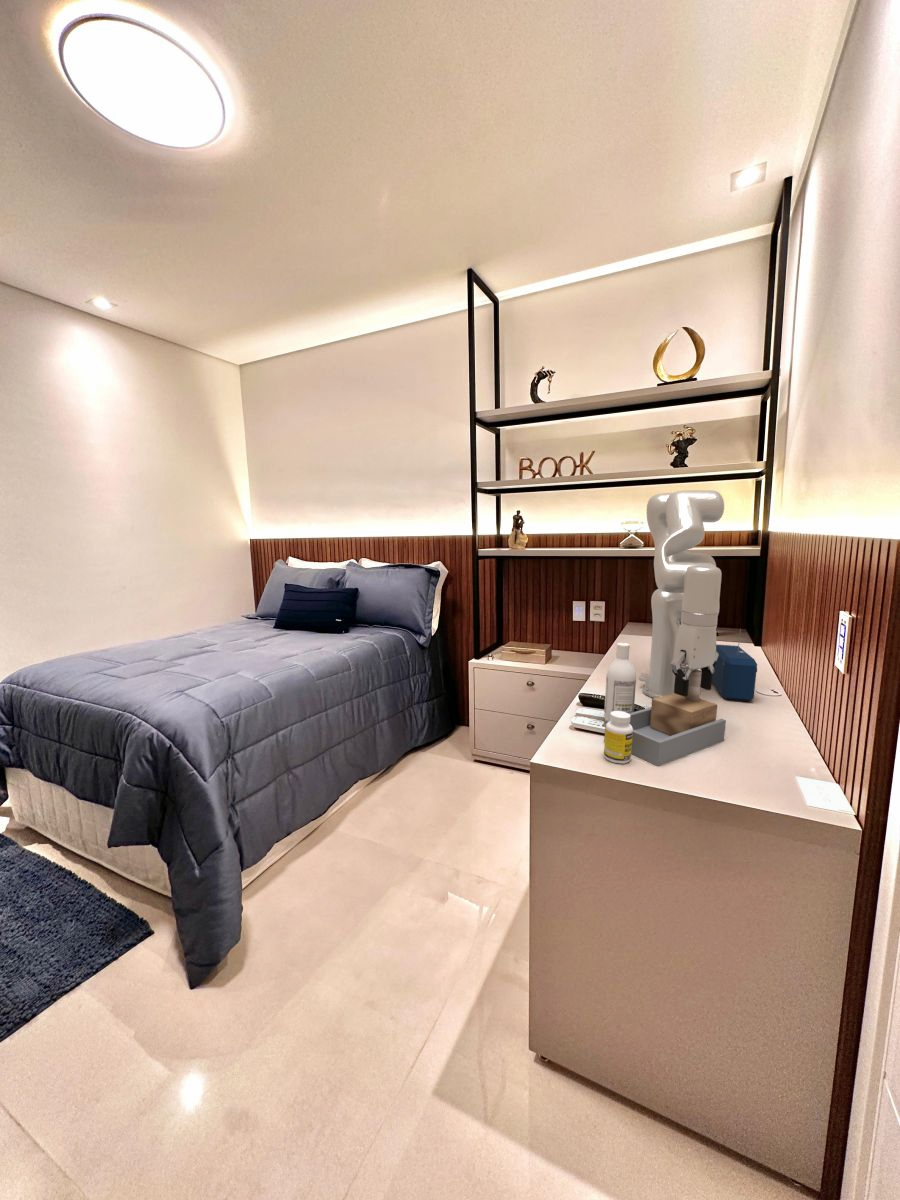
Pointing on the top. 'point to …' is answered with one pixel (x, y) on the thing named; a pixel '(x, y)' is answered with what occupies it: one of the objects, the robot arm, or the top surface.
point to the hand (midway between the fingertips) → (692, 691)
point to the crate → (682, 709)
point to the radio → (734, 673)
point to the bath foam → (620, 683)
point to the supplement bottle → (618, 738)
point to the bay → (670, 739)
